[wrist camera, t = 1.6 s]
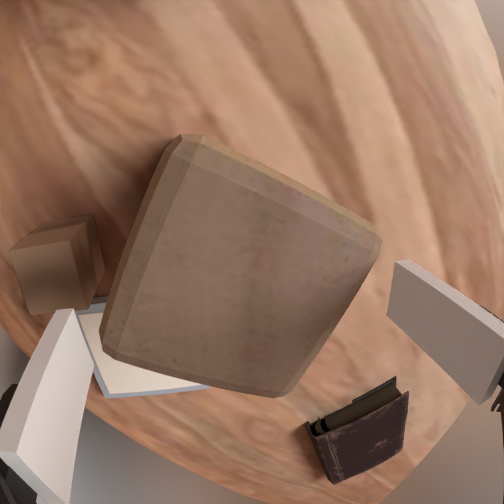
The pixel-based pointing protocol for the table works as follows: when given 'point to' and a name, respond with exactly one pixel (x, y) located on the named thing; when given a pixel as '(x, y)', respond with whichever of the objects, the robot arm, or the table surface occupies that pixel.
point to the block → (232, 272)
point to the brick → (59, 265)
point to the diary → (362, 432)
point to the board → (123, 364)
